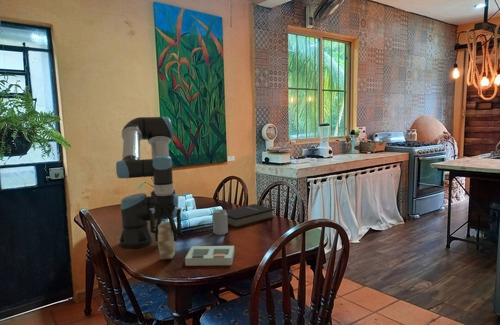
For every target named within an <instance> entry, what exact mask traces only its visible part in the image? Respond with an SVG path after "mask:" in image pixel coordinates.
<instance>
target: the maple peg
mask: <svg viewBox="0 0 500 325" xmlns="http://www.w3.org/2000/svg"><path fill="white" fill-rule="evenodd" d="M172 233H173V231H172V228H171V224H170V222H169V221H161V224H160V225H158V235H159V249H158V251H159V259H173V258H174V256H175V254H176V248H175V249H174V250H172V236H171V234H172Z"/></svg>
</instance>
